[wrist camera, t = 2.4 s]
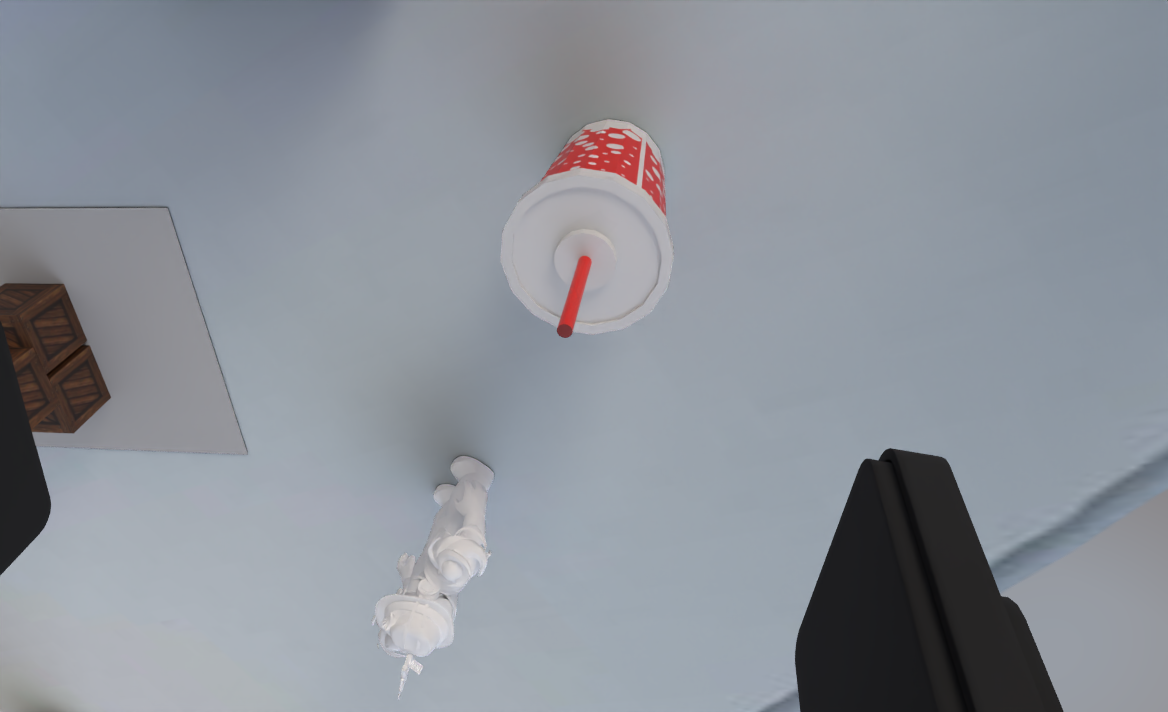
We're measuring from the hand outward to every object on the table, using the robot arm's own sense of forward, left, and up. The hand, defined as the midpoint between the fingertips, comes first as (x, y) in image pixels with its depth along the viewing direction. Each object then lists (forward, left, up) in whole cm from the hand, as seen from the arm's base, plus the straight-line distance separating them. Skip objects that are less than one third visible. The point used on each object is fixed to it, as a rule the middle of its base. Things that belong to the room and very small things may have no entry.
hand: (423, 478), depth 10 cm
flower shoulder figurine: (+7, +26, -29) cm, 40 cm away
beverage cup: (0, +7, -29) cm, 30 cm away
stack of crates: (+28, +19, -29) cm, 45 cm away
